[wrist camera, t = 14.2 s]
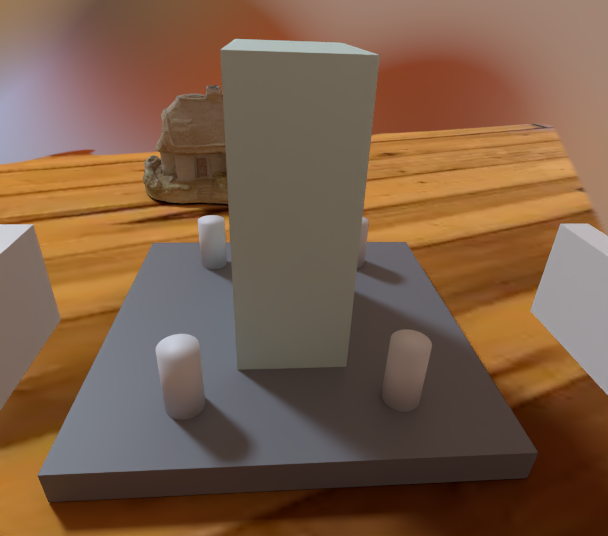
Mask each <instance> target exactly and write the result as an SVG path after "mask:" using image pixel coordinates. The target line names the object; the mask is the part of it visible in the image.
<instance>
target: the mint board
mask: <svg viewBox="0 0 608 536" xmlns="http://www.w3.org/2000/svg"><path fill="white" fill-rule="evenodd" d="M379 58H380V55H378V54H375V53H372V52H369V51H365V50H362V49H359V48H356V47H353V46H350V45H347V44H344V43H332V42H304V41H302V42H301V41H277V40H249V39H235V40H233V41H232V42H231V43H229V44H228V45H226V46H225V47H224V48H222V49H221V71H222V89H223V109H224V128H225V148H226V167H227V186H228V205H229V224H230V243H231V263H232V282H233V301H234V320H235V339H236V358H237V370H245V369H282V368H319V367H346V365H347V356H348V347H349V337H350V328H351V319H352V310H353V300H354V291H355V282H356V272H357V263H358V254H359V244H360V235H361V226H362V216H363V207H364V198H365V188H366V179H367V170H368V161H369V151H370V142H371V133H372V123H373V113H374V104H375V95H376V86H377V77H378V67H379Z"/></svg>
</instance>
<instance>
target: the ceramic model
mask: <svg viewBox="0 0 608 536" xmlns="http://www.w3.org/2000/svg"><path fill="white" fill-rule="evenodd" d="M161 118H162V134H161V137H160V139H159V140H158V142H157V144H156V150H157V151H159V152H160V154H161V159H159V158H158V157H157V156H150V158H148V159H147V160H146V161H145V162H144V164H145V170H144V173H145V174H144V175H143V181H144V184H145V188H146V192H147V194H148V195H149V196H150V197H152V198H154V199H156V200H161V201H167V202H173V203H197V202H203V203H206V202H207V203H221V204H223V203H225V204H228V186H227V167H226V148H225V128H224V109H223V95H222V91H221V89H220V87H219V86H218V85H214V86H213V85H212V86H211V85H207V88H206V95H202V94H184V95H178V96H177V97H176V99H175V101H174V102H173V103H172V104H171V105H170V106H169V107H168V108H166V109H164V110H163V113H162V114H161Z"/></svg>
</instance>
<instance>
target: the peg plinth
mask: <svg viewBox="0 0 608 536" xmlns="http://www.w3.org/2000/svg"><path fill="white" fill-rule="evenodd" d="M368 226H369V220H368V219H367V218H365V217H362V226H361V235H360V244H359V254H358V263H357V272H356V282H355V291H354V300H353V310H352V319H351V328H350V337H349V347H348V356H347V365H346V367H319V368H282V369H245V370H237V358H236V339H235V320H234V301H233V282H232V263H231V243H226V238H225V221H224V218H223V217H221V216H217V215H208V216H203V217H201V218H199V219H198V229H199V240H200V243H153V244H152V246H151V248H150V250H149V252H148V254H147V256H146V258H145V260H144V262H143V264H142V266H141V268H140V270H139V272H138V274H137V276H136V278H135V280H134V282H133V284H132V286H131V288H130V290H129V292H128V294H127V296H126V299H125V301H124V303H123V305H122V307H121V309H120V311H119V313H118V315H117V317H116V319H115V321H114V323H113V325H112V327H111V329H110V331H109V333H108V335H107V337H106V339H105V341H104V343H103V345H102V347H101V349H100V351H99V353H98V355H97V357H96V359H95V361H94V363H93V365H92V367H91V369H90V371H89V373H88V375H87V377H86V379H85V381H84V383H83V385H82V387H81V389H80V391H79V393H78V395H77V397H76V399H75V401H74V403H73V405H72V407H71V409H70V411H69V413H68V415H67V417H66V419H65V421H64V423H63V425H62V427H61V429H60V432H59V434H58V436H57V438H56V440H55V442H54V444H53V446H52V448H51V450H50V452H49V454H48V456H47V458H46V460H45V462H44V464H43V466H42V468H41V470H40V472H39V474H38V477H39V480H40V482H41V485H42V487H43V490H44V492H45V495H46V497H47V500H48V502H63V501H83V500H103V499H123V498H143V497H163V496H182V495H202V494H222V493H242V492H262V491H282V490H302V489H321V488H341V487H361V486H381V485H401V484H421V483H440V482H460V481H480V480H500V479H520V478H527V477H528V475H529V473H530V471H531V468H532V466H533V464H534V462H535V459H536V457H537V455H538V451H537V450H536V448H535V446H534V445H533V443H532V442H531V440H530V439H529V437H528V435H527V434H526V432H525V431H524V429H523V427H522V426H521V424H520V423H519V421H518V419H517V418H516V416H515V415H514V413H513V412H512V410H511V408H510V407H509V405H508V404H507V402H506V400H505V399H504V397H503V396H502V394H501V392H500V391H499V389H498V388H497V386H496V385H495V383H494V381H493V380H492V378H491V377H490V375H489V373H488V372H487V370H486V369H485V367H484V366H483V364H482V362H481V361H480V359H479V358H478V356H477V354H476V353H475V351H474V350H473V348H472V346H471V345H470V343H469V342H468V340H467V339H466V337H465V335H464V334H463V332H462V331H461V329H460V327H459V326H458V324H457V323H456V321H455V320H454V318H453V316H452V315H451V313H450V312H449V310H448V308H447V307H446V305H445V304H444V302H443V300H442V299H441V297H440V296H439V294H438V293H437V291H436V289H435V288H434V286H433V285H432V283H431V281H430V280H429V278H428V277H427V275H426V273H425V272H424V270H423V269H422V267H421V266H420V264H419V262H418V261H417V259H416V258H415V256H414V254H413V253H412V251H411V250H410V248H409V247H408V245H407V243H406V242H367V234H368Z"/></svg>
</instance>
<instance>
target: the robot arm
mask: <svg viewBox="0 0 608 536" xmlns="http://www.w3.org/2000/svg"><path fill="white" fill-rule="evenodd" d="M530 311H531V312H532V313H533V314H534V315H535V316H536V317H537V318H538V320H539V321H540V322H541V323H542V324H543V325H544V326H545V327H546V328H547V329H548V330H549V332H550V333H551V334H552V335H553V336H554V337H555V338H556V339H557V340H558V341H559V342H560V344H561V345H562V346H563V347H564V348H565V349H566V350H567V351H568V352H569V353H570V354H571V356H572V357H573V358H574V359H575V360H576V361H577V362H578V363H579V364H580V365H581V366H582V368H583V369H584V370H585V371H586V372H587V373H588V374H589V375H590V376H591V377H592V378H593V380H594V381H595V382H596V383H597V384H598V385H599V386H600V387H601V388H602V389H603V390H604V392H605V393H606V394H607V395H608V236H607V235H605V234H604V233H602V232H600V231H599V230H597V229H596V228H594V227H592V226H591V225H589V224H560V227H559V229H558V232H557V235H556V238H555V241H554V244H553V247H552V250H551V253H550V255H549V258H548V261H547V264H546V267H545V270H544V273H543V276H542V279H541V281H540V284H539V287H538V290H537V293H536V296H535V299H534V302H533V304H532V307H531V310H530ZM60 320H61V319H60V315H59V312H58V308H57V305H56V302H55V298H54V295H53V291H52V288H51V284H50V281H49V277H48V274H47V270H46V267H45V264H44V260H43V257H42V253H41V250H40V246H39V243H38V239H37V236H36V233H35V229H34V226H33V225H0V410H1V409H2V407H3V406H4V404H5V403H6V401H7V400H8V398H9V397H10V395H11V394H12V392H13V391H14V389H15V388H16V386H17V385H18V383H19V382H20V380H21V379H22V377H23V376H24V374H25V373H26V371H27V370H28V368H29V367H30V365H31V364H32V362H33V361H34V359H35V358H36V356H37V355H38V353H39V352H40V350H41V349H42V347H43V346H44V344H45V343H46V341H47V340H48V338H49V337H50V335H51V334H52V332H53V331H54V329H55V328H56V326H57V325H58V323H59V322H60Z"/></svg>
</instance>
